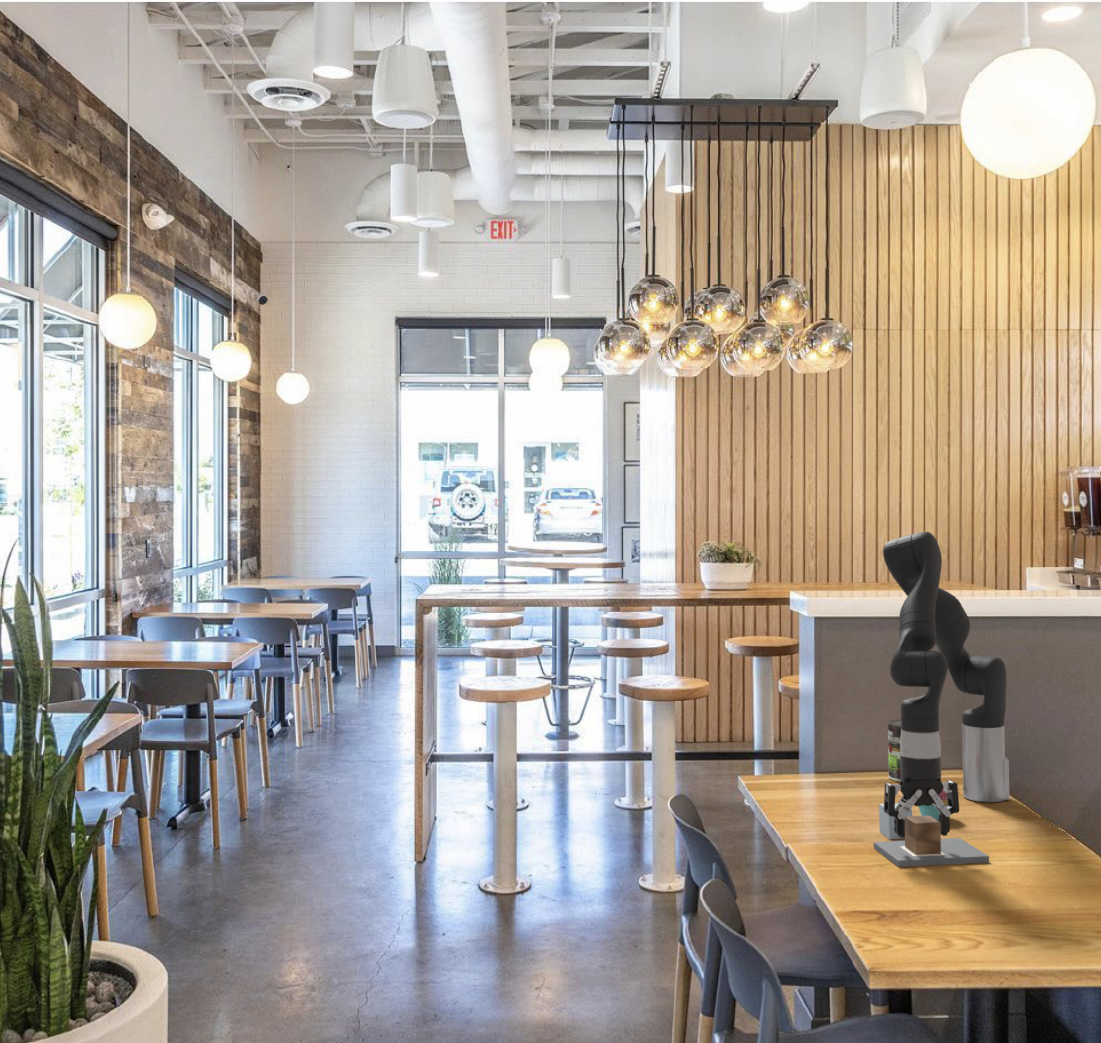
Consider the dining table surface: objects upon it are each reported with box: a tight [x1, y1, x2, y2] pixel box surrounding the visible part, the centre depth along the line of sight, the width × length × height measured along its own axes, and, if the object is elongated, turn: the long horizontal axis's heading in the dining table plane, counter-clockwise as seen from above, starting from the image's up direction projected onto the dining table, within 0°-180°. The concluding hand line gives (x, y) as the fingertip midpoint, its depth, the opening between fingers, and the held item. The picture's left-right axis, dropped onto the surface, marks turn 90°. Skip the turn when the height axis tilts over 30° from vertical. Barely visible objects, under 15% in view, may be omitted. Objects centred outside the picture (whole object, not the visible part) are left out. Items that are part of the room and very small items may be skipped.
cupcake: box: [917, 788, 948, 821], centre depth 240 cm, size 9×8×12 cm
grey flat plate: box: [873, 837, 990, 868], centre depth 214 cm, size 18×12×1 cm, turn 95°
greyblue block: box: [878, 802, 913, 840], centre depth 228 cm, size 5×5×6 cm
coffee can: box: [886, 718, 901, 783], centre depth 276 cm, size 10×10×14 cm
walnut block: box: [904, 815, 942, 855], centre depth 213 cm, size 5×5×6 cm
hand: (921, 836), depth 213 cm, fingers open, 8 cm apart
